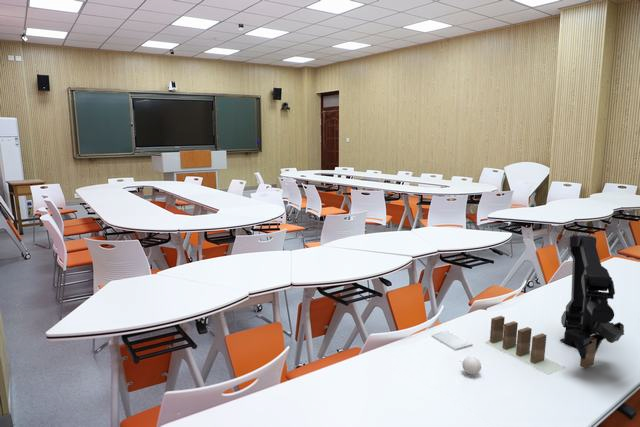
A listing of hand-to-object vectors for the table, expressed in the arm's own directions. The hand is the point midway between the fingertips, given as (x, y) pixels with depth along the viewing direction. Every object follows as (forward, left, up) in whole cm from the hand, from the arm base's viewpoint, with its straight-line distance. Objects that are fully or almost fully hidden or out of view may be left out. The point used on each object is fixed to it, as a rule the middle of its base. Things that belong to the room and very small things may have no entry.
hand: (587, 356), depth 144 cm
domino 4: (+10, -11, -4) cm, 15 cm away
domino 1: (+10, -27, -4) cm, 29 cm away
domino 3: (+10, -16, -4) cm, 19 cm away
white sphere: (+35, -17, -4) cm, 39 cm away
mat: (+10, -16, -4) cm, 19 cm away
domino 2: (+10, -22, -4) cm, 24 cm away
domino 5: (0, 0, -3) cm, 3 cm away
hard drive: (+24, -35, -5) cm, 43 cm away
